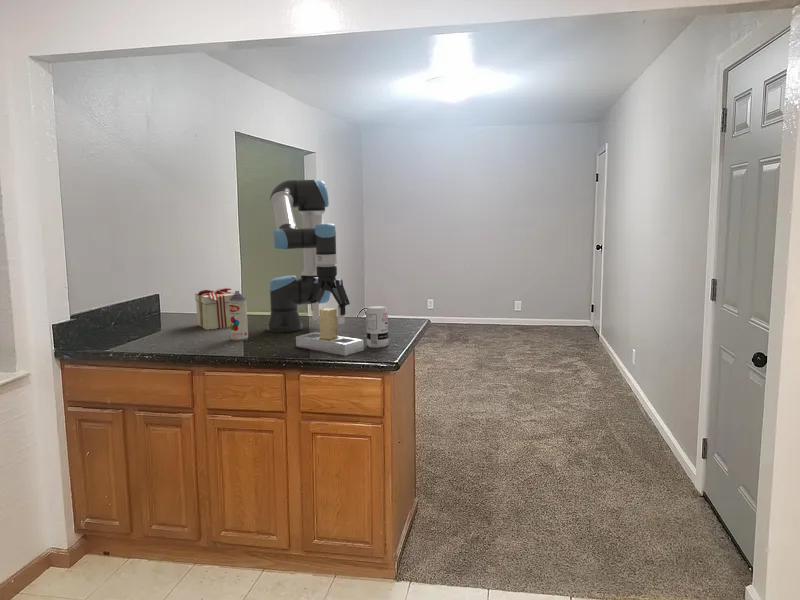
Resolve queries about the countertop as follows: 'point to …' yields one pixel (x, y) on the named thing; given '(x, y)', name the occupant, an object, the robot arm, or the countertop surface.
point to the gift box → (213, 308)
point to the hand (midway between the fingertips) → (328, 321)
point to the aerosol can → (238, 317)
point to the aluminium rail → (330, 344)
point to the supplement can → (377, 326)
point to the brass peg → (328, 324)
